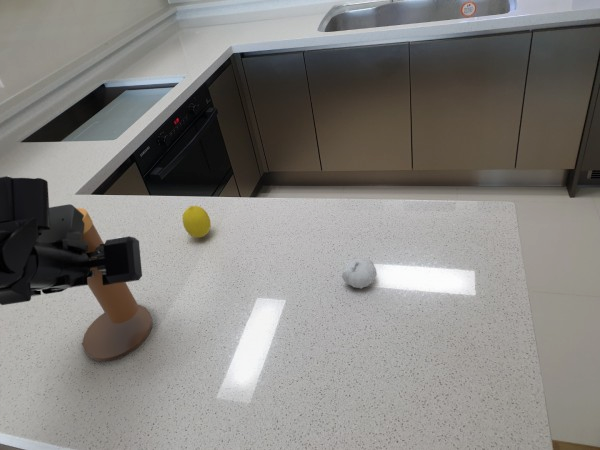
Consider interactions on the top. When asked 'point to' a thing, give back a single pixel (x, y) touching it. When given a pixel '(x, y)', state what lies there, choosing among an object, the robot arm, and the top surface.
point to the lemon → (196, 221)
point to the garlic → (359, 273)
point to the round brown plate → (116, 336)
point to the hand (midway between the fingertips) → (105, 269)
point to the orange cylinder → (112, 296)
